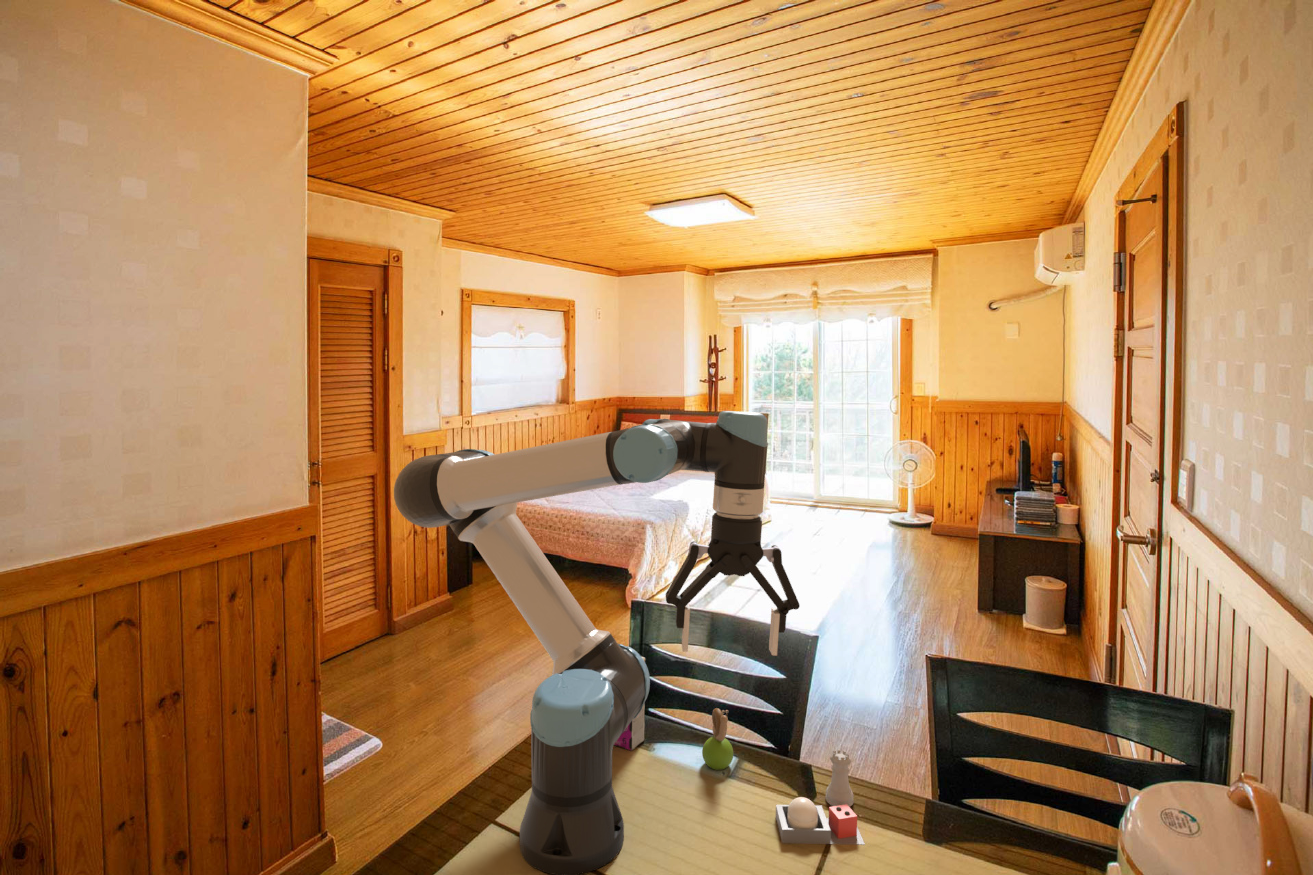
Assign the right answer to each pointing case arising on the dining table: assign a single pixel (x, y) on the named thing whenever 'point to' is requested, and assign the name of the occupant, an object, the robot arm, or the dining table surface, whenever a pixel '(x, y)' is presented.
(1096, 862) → the dining table surface
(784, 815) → the grey compartment tray
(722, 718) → the snail figurine
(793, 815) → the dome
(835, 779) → the rook chess piece
